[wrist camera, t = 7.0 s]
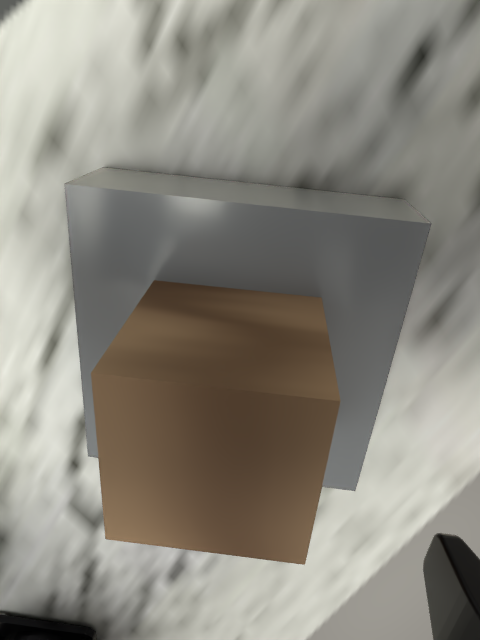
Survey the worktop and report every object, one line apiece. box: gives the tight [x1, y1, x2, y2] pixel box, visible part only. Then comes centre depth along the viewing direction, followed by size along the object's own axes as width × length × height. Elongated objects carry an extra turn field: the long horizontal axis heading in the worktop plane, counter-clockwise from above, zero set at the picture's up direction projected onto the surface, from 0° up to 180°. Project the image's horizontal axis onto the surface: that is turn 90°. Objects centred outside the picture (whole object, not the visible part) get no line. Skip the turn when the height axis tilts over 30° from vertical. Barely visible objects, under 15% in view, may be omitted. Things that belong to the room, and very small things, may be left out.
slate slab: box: [65, 167, 431, 491], centre depth 16 cm, size 10×10×3 cm
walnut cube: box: [91, 280, 341, 565], centre depth 12 cm, size 5×5×5 cm
